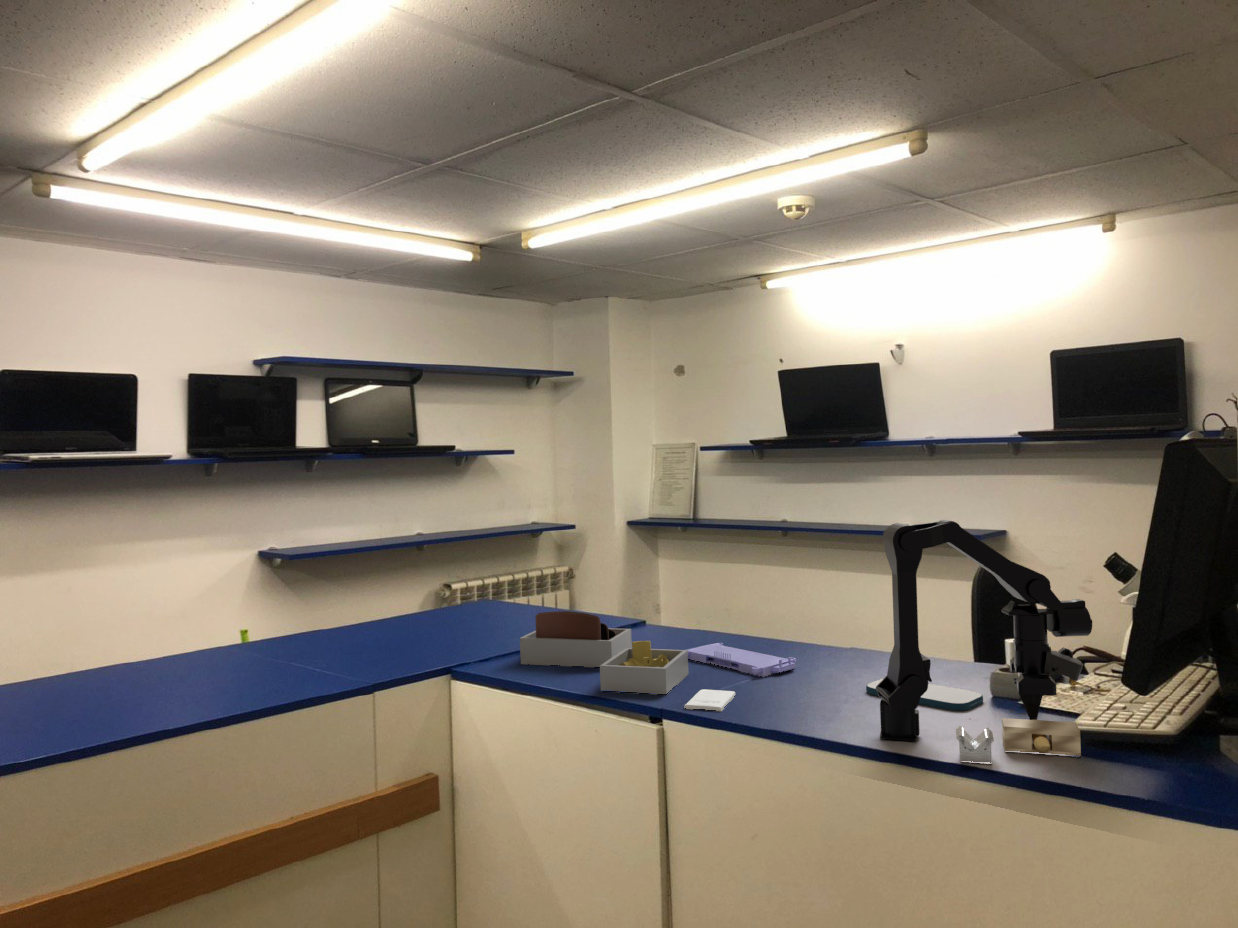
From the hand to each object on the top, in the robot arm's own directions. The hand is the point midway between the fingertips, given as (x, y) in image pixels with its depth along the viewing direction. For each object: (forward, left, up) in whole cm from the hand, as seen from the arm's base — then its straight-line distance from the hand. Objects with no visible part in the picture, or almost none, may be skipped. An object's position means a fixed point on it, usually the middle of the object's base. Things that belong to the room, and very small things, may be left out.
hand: (1033, 720), depth 168 cm
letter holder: (-109, +39, -2) cm, 115 cm away
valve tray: (-83, +20, -2) cm, 85 cm away
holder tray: (-109, +40, -2) cm, 116 cm away
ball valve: (-82, +21, -2) cm, 85 cm away
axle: (0, -9, 0) cm, 9 cm away
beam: (0, -11, -2) cm, 11 cm away
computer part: (-65, +42, -3) cm, 77 cm away
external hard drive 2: (-20, +20, -3) cm, 28 cm away
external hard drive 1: (-64, +7, -3) cm, 64 cm away
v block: (-11, -18, -2) cm, 21 cm away
